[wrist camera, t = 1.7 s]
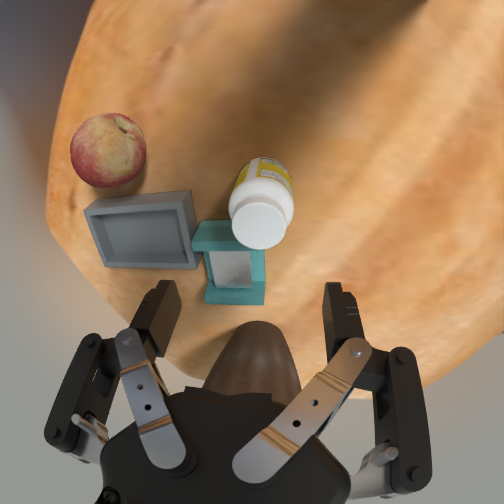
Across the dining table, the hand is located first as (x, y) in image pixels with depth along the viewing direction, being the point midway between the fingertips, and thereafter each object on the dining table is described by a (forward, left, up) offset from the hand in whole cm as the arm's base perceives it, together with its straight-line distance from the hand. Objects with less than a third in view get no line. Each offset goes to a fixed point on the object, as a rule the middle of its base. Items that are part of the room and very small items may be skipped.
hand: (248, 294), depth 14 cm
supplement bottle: (0, 0, -17) cm, 17 cm away
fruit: (-6, -15, -17) cm, 23 cm away
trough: (+5, -15, -17) cm, 23 cm away
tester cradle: (+9, -4, -17) cm, 19 cm away
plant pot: (+25, -2, -17) cm, 30 cm away
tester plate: (+9, -4, -14) cm, 17 cm away
